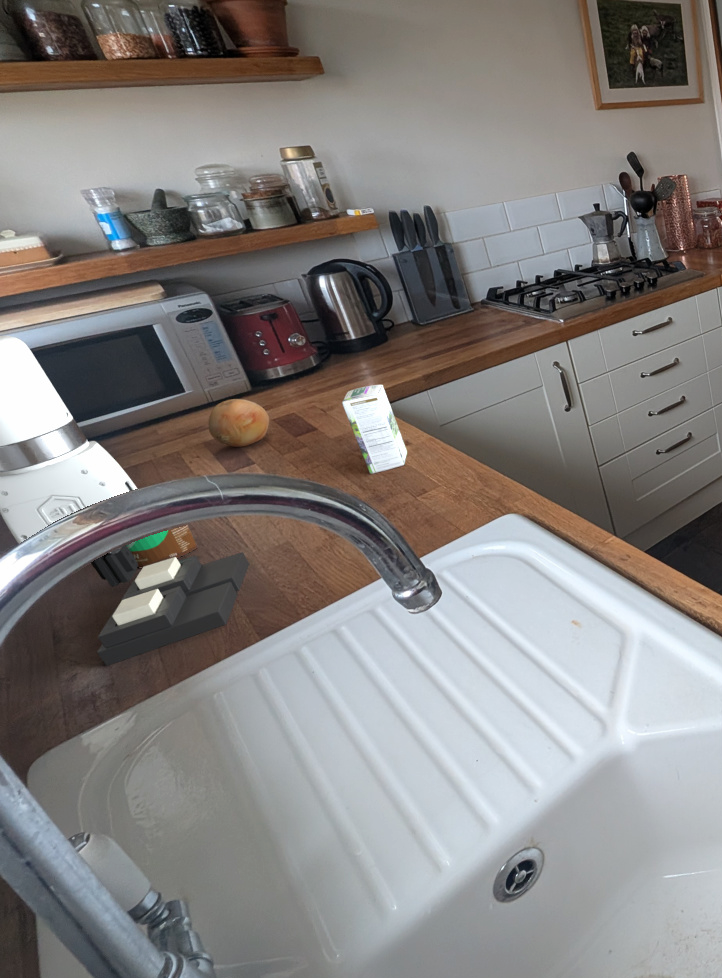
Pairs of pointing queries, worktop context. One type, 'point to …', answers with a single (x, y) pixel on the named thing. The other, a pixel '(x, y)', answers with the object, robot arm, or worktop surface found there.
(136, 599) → the key front
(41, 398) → the robot arm
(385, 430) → the syrup box
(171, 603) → the key block
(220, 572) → the key block
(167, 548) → the food container
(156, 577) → the key rear
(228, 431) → the onion
